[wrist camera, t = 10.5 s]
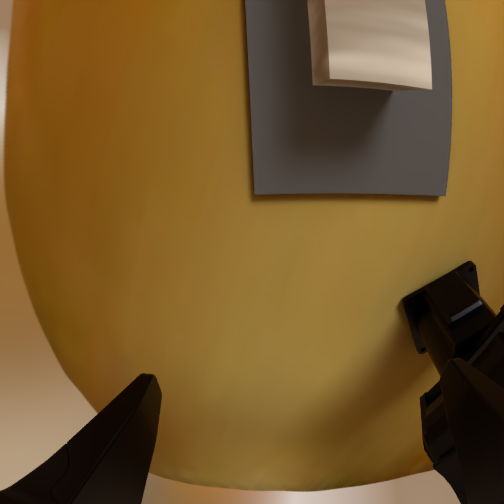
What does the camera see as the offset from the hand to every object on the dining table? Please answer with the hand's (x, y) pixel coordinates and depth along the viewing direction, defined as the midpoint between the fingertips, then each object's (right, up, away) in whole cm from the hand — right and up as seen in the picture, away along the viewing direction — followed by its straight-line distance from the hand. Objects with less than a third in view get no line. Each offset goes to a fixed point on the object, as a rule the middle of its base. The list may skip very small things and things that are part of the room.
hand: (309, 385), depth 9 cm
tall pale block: (+4, +12, +4) cm, 13 cm away
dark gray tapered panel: (+4, +16, +6) cm, 17 cm away
